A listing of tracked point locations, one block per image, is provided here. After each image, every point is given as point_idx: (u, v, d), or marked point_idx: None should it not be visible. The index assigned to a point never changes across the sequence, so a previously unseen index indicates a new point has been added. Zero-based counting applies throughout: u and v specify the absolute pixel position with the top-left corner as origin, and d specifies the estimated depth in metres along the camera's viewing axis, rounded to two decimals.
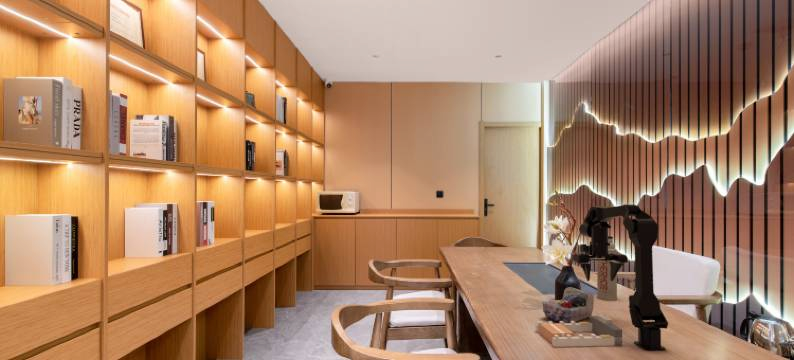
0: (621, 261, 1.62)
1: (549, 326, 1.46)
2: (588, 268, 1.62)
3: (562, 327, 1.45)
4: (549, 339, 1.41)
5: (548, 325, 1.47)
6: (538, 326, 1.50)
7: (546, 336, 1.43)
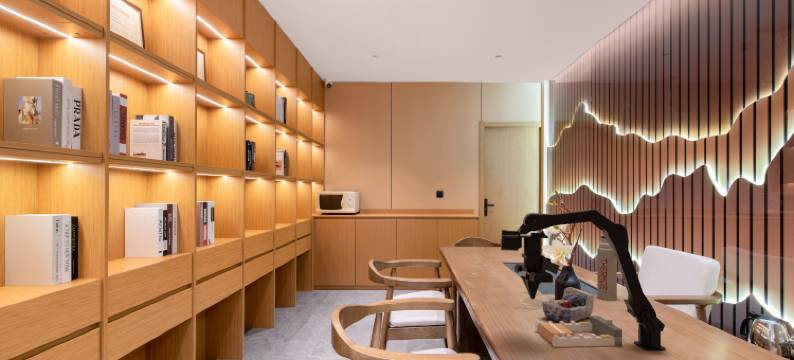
0: (531, 279, 1.37)
1: (549, 326, 1.46)
2: (524, 282, 1.45)
3: (562, 327, 1.45)
4: (549, 339, 1.41)
5: (548, 325, 1.47)
6: (538, 326, 1.50)
7: (546, 336, 1.43)
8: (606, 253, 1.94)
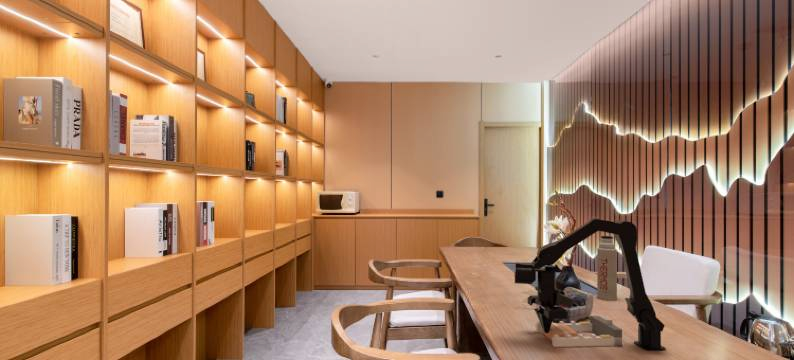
0: (545, 314, 1.37)
1: (552, 326, 1.46)
2: None
3: (565, 327, 1.45)
4: None
5: (551, 325, 1.47)
6: (538, 326, 1.50)
7: (549, 336, 1.43)
8: (606, 253, 1.94)
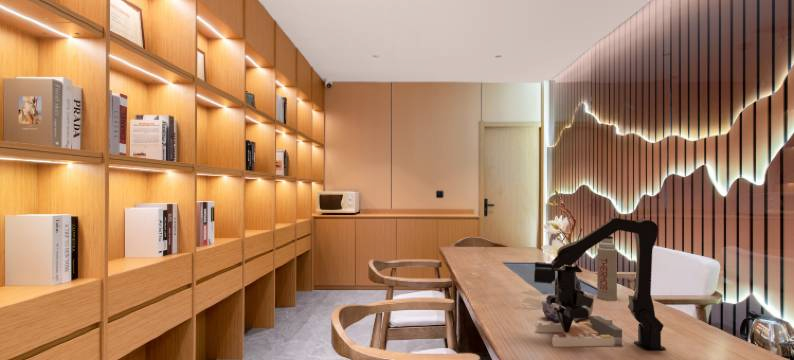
0: (566, 314, 1.37)
1: (572, 326, 1.46)
2: (557, 315, 1.45)
3: (585, 327, 1.45)
4: None
5: (571, 325, 1.47)
6: (538, 326, 1.50)
7: None
8: (606, 253, 1.94)
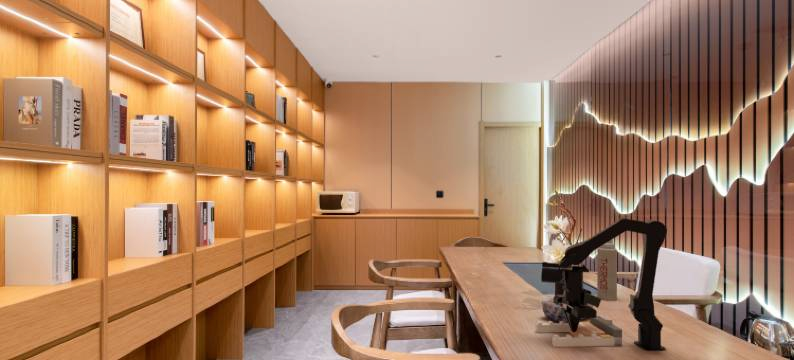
0: (574, 314, 1.38)
1: (579, 326, 1.46)
2: (565, 315, 1.46)
3: (592, 327, 1.46)
4: None
5: (578, 325, 1.48)
6: (538, 326, 1.50)
7: (577, 336, 1.44)
8: (606, 253, 1.94)
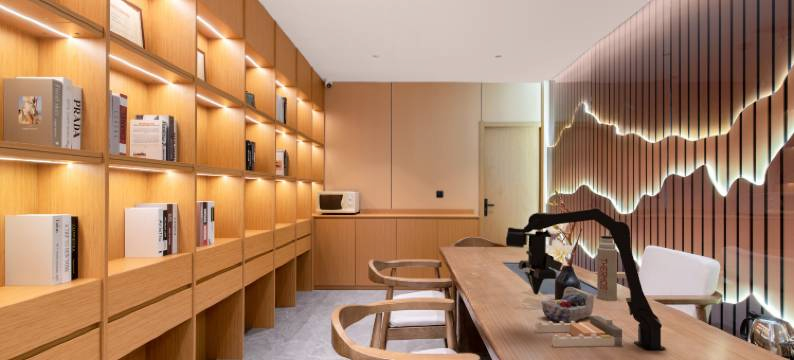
0: (535, 275, 1.44)
1: (579, 326, 1.46)
2: (528, 278, 1.52)
3: (592, 327, 1.46)
4: None
5: (578, 325, 1.48)
6: (538, 326, 1.50)
7: (577, 336, 1.44)
8: (606, 253, 1.94)
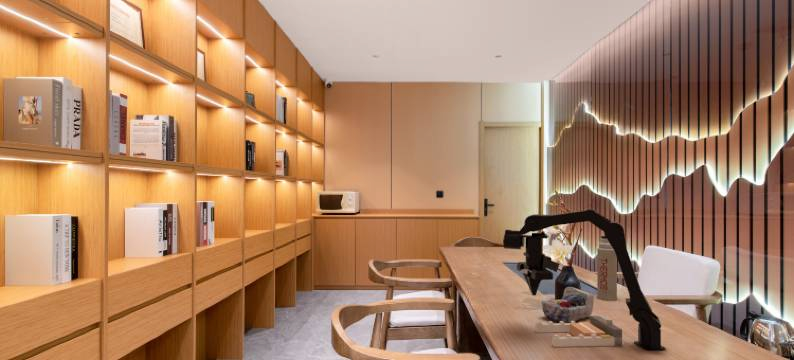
0: (532, 276, 1.46)
1: (579, 326, 1.47)
2: (526, 279, 1.54)
3: (592, 327, 1.46)
4: None
5: (578, 325, 1.48)
6: (538, 326, 1.50)
7: (577, 336, 1.44)
8: (606, 253, 1.94)
